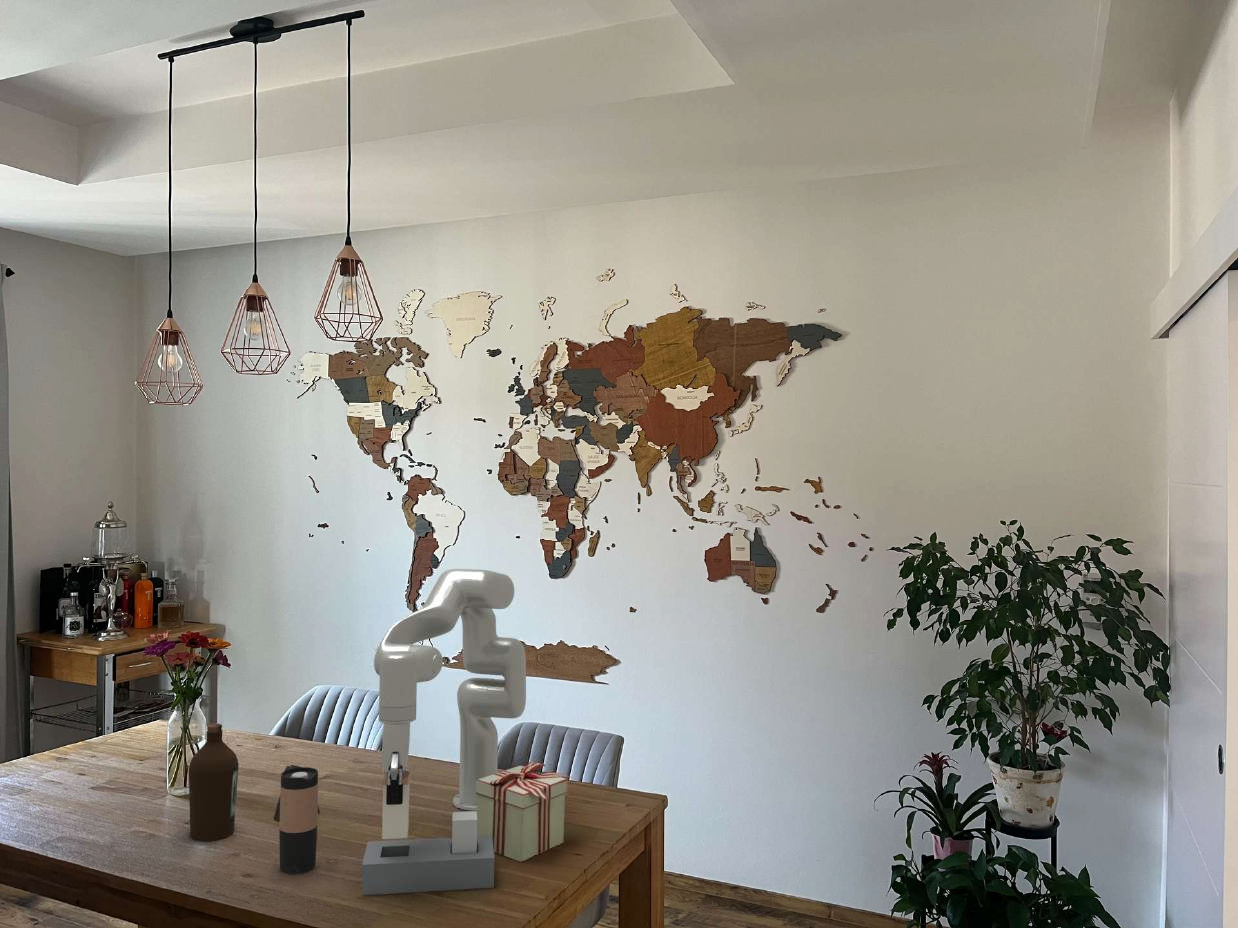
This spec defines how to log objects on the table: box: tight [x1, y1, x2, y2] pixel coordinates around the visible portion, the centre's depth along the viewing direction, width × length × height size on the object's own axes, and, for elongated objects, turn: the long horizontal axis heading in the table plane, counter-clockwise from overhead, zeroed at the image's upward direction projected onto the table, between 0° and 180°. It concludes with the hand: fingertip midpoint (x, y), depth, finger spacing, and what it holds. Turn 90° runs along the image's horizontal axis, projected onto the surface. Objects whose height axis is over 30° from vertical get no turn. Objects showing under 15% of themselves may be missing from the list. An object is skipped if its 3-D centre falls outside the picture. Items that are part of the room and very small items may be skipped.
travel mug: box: [278, 766, 319, 875], centre depth 199 cm, size 8×8×20 cm
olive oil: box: [187, 723, 240, 842], centre depth 217 cm, size 11×11×25 cm
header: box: [361, 810, 495, 896], centre depth 194 cm, size 26×12×13 cm, turn 100°
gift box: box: [476, 761, 571, 863], centre depth 213 cm, size 17×18×17 cm
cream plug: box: [381, 770, 411, 840], centre depth 193 cm, size 5×5×12 cm
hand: (396, 795), depth 193 cm, fingers open, 9 cm apart
